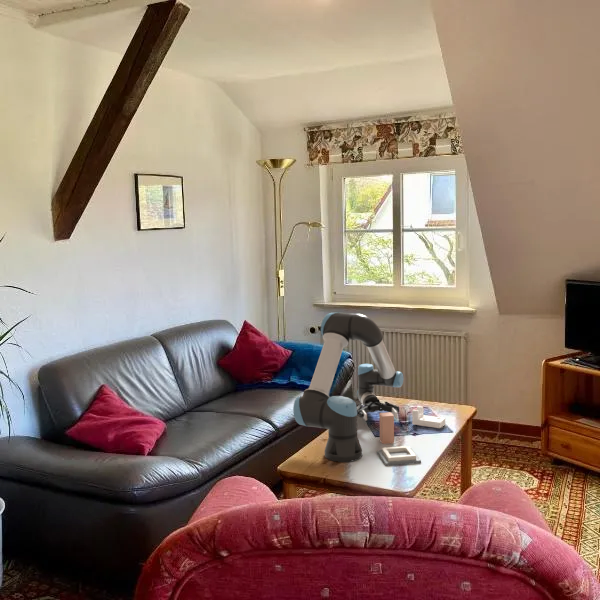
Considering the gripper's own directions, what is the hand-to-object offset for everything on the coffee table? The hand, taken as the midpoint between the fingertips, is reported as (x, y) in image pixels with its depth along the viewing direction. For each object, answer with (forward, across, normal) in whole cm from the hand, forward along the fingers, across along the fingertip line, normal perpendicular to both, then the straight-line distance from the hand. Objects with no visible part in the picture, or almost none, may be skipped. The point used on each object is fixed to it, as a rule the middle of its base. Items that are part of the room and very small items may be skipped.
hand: (381, 416), depth 292 cm
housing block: (+10, 0, -8) cm, 13 cm away
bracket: (-6, -23, -9) cm, 26 cm away
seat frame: (+29, 0, -8) cm, 30 cm away
